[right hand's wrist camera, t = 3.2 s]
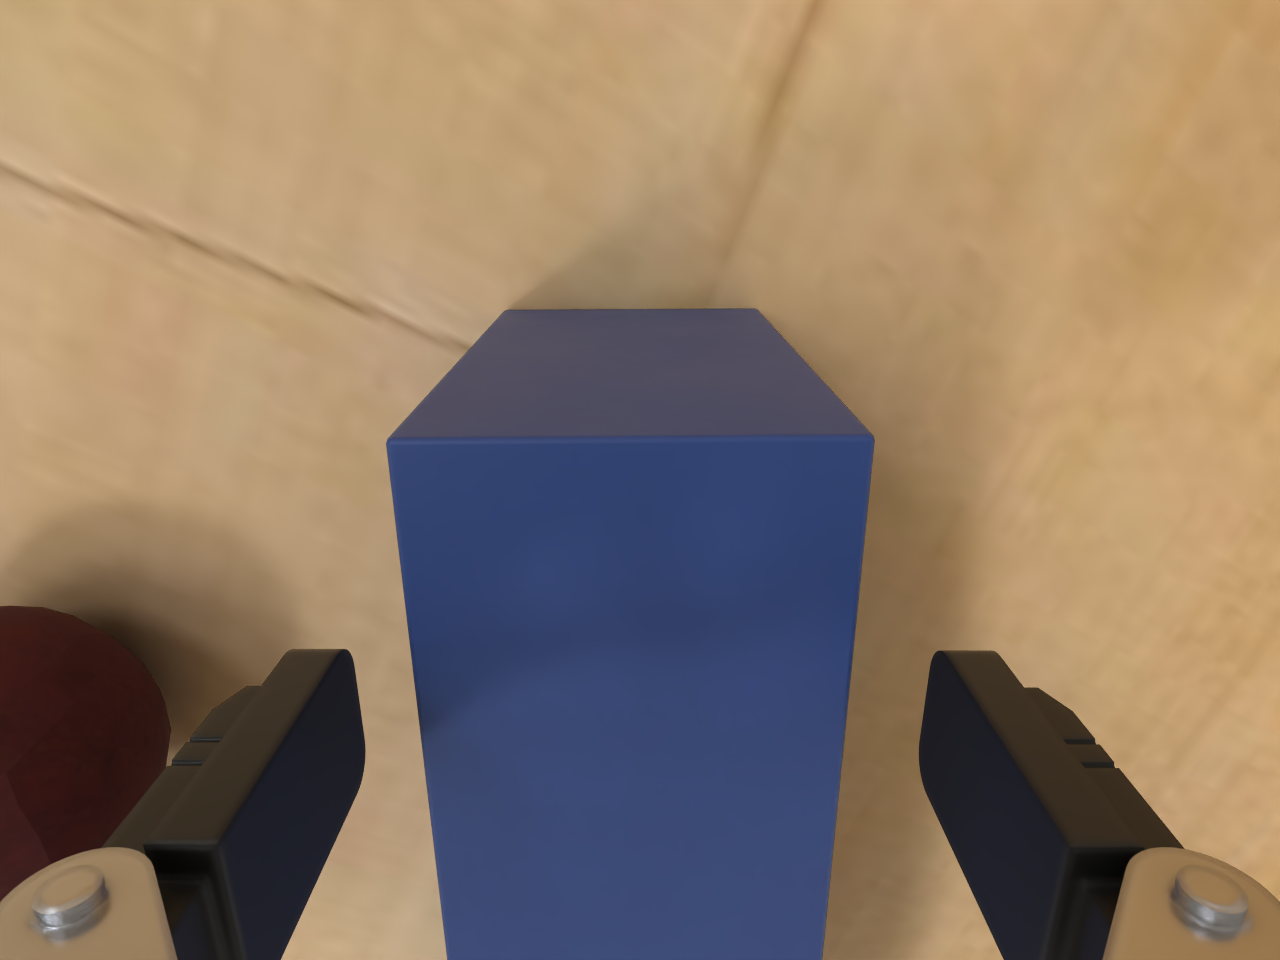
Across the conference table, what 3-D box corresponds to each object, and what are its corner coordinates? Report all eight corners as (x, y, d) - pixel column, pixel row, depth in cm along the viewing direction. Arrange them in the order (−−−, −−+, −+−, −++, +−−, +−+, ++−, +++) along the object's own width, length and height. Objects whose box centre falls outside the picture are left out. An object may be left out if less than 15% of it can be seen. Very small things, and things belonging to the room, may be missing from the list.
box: (503, 309, 19) (383, 438, 10) (758, 308, 19) (876, 435, 10) (548, 1026, 28) (505, 1461, 18) (725, 1024, 28) (772, 1457, 18)
